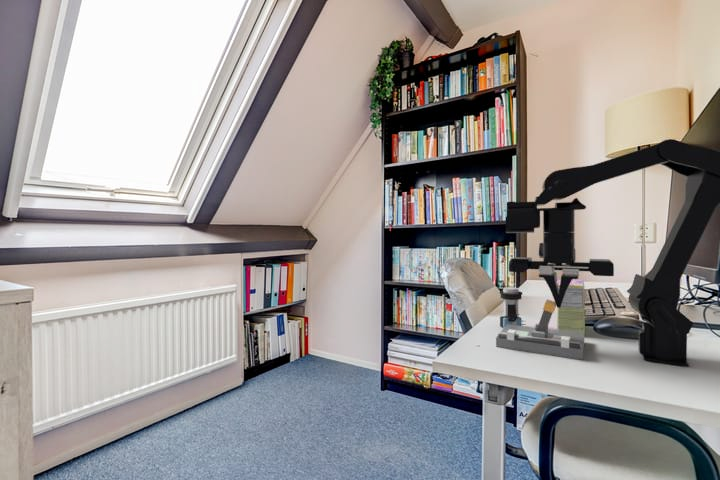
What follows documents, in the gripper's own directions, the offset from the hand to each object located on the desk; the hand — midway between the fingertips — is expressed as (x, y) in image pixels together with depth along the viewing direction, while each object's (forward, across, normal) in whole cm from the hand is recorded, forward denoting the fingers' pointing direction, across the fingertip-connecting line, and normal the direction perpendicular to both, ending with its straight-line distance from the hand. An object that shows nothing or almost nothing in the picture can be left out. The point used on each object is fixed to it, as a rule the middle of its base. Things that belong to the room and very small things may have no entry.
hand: (558, 307), depth 77 cm
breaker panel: (+9, +4, -1) cm, 10 cm away
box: (+9, -1, -16) cm, 19 cm away
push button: (+9, +11, -12) cm, 19 cm away
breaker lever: (+6, +4, 0) cm, 7 cm away
